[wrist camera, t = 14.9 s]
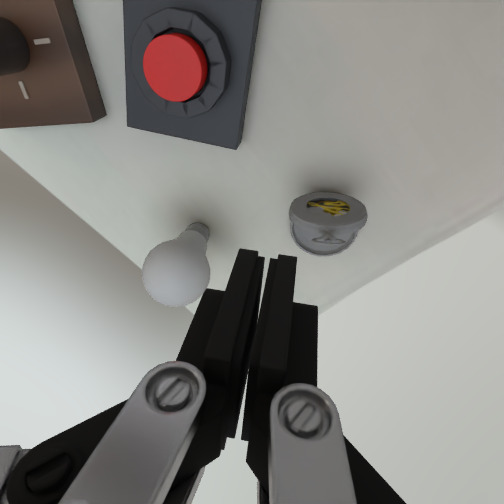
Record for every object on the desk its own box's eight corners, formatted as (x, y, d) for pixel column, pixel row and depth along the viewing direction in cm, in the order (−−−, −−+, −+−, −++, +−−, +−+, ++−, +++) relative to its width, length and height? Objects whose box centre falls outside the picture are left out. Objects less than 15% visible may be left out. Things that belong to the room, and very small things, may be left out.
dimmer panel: (-68, -43, 30) (-99, -47, 28) (53, -64, 28) (30, -69, 26) (6, 122, 37) (-14, 130, 35) (107, 115, 35) (92, 122, 33)
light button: (151, 27, 27) (142, 28, 25) (210, 39, 27) (204, 41, 25) (151, 91, 29) (142, 95, 28) (205, 102, 29) (199, 107, 28)
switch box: (134, -41, 28) (109, -47, 24) (263, -16, 27) (256, -18, 24) (137, 120, 35) (117, 132, 31) (241, 142, 34) (232, 157, 31)
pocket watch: (311, 260, 40) (308, 325, 32) (269, 199, 37) (254, 255, 29) (383, 228, 37) (401, 292, 29) (344, 158, 34) (351, 207, 25)
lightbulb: (204, 261, 43) (173, 331, 34) (162, 228, 41) (117, 291, 32) (238, 230, 40) (214, 297, 31) (194, 193, 38) (155, 252, 29)
